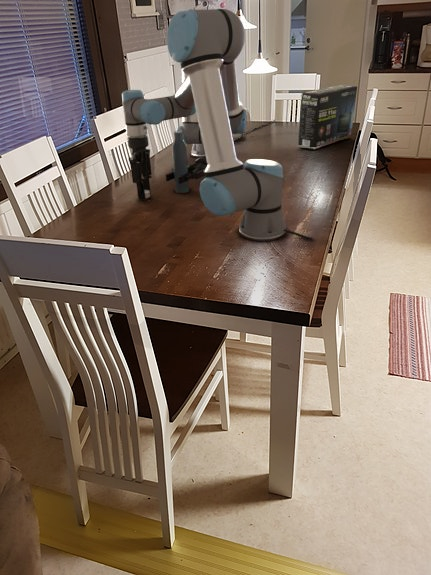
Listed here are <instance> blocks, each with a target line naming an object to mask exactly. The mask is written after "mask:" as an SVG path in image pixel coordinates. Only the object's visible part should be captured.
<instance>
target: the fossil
mask: <svg viewBox="0 0 431 575" xmlns="http://www.w3.org/2000/svg"><path fill="white" fill-rule="evenodd" d="M246 131H247V130H245V131H244V133H245V132H246ZM245 134H246V133H245ZM243 136H244V135H243V133H242V134H236V135H235V134H232V137H233V139H237V140H239V139H240V138H242V137H243ZM238 138H239V139H238ZM237 140H233V142H236V141H237Z"/></svg>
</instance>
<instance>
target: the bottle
mask: <svg viewBox="0 0 431 575" xmlns="http://www.w3.org/2000/svg"><path fill="white" fill-rule="evenodd" d="M187 152H188V150H187V144H185V142H184V140H183V139H182V131H177V130H175V131H173V141H172V144H171V156H172V158H171V159H172V167H173V168H172V169H173V170H174V179H173V180H174V182H173V183H174V192H175V193H177V194H184V193H185V194H186V193H188V192H190V182H189V181H190V180H188V181H186V182H184V183H181V184H179V178H178V177H179V176H182V175H184V174H186V173H188V165H189V164H187V163H188V153H187Z"/></svg>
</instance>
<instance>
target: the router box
mask: <svg viewBox="0 0 431 575" xmlns="http://www.w3.org/2000/svg"><path fill="white" fill-rule="evenodd" d="M357 93H358V86H356V85H350V84H339V85H338V84H337V85H334V86H328V87H324V88H318V89H314V90H309V91H304V92H301V93H300V109H299V110H300V111H299V124H298V137H297V146H298V145H302V146H307V147H317V146H320V145H323V144H325V143H328V142H331V141H333V140H336V139H338V138H341V137H344V136H347V135H351V136H352V133H353V132H352V131H353V125H354V115H355V109H356V99H357ZM311 151H313V150H312V149H311Z"/></svg>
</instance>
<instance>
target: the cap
mask: <svg viewBox="0 0 431 575" xmlns="http://www.w3.org/2000/svg"><path fill="white" fill-rule="evenodd" d="M150 192H151V191H150ZM150 192H149V190H145V199H148V198H150V197H151V195H150Z"/></svg>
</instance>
